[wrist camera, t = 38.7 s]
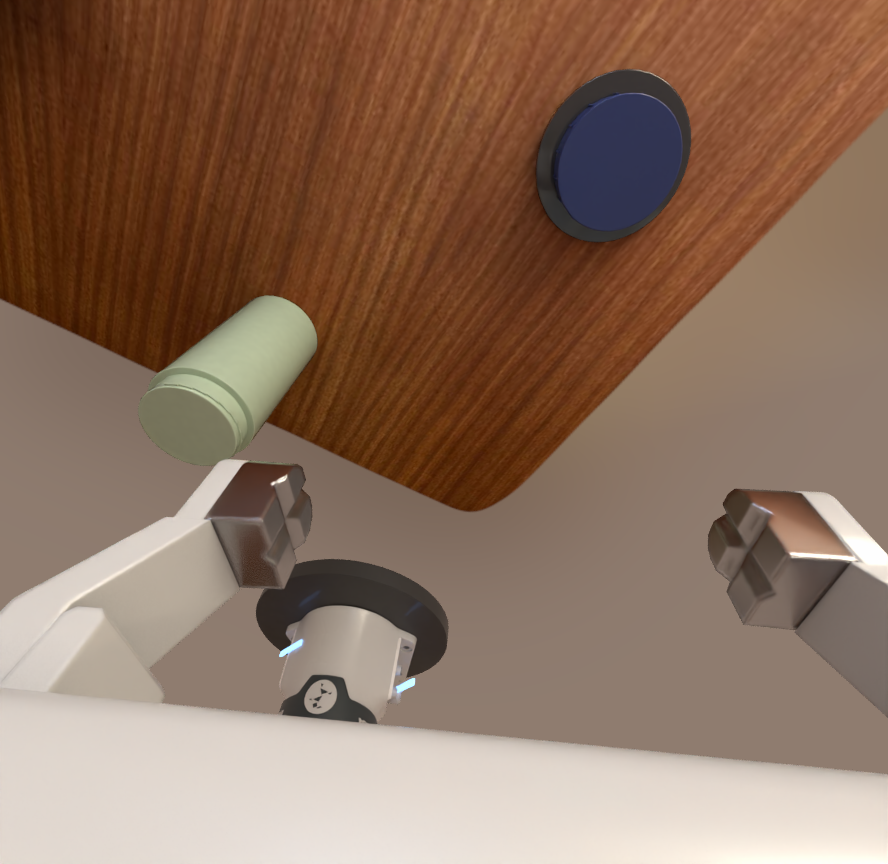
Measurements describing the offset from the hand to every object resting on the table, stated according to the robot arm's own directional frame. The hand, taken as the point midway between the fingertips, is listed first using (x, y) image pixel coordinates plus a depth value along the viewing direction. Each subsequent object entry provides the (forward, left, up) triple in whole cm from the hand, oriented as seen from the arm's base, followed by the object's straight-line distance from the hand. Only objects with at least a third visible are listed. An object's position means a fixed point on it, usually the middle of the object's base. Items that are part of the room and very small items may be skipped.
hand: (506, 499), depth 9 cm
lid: (+4, -7, -25) cm, 26 cm away
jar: (-8, +17, -27) cm, 33 cm away
